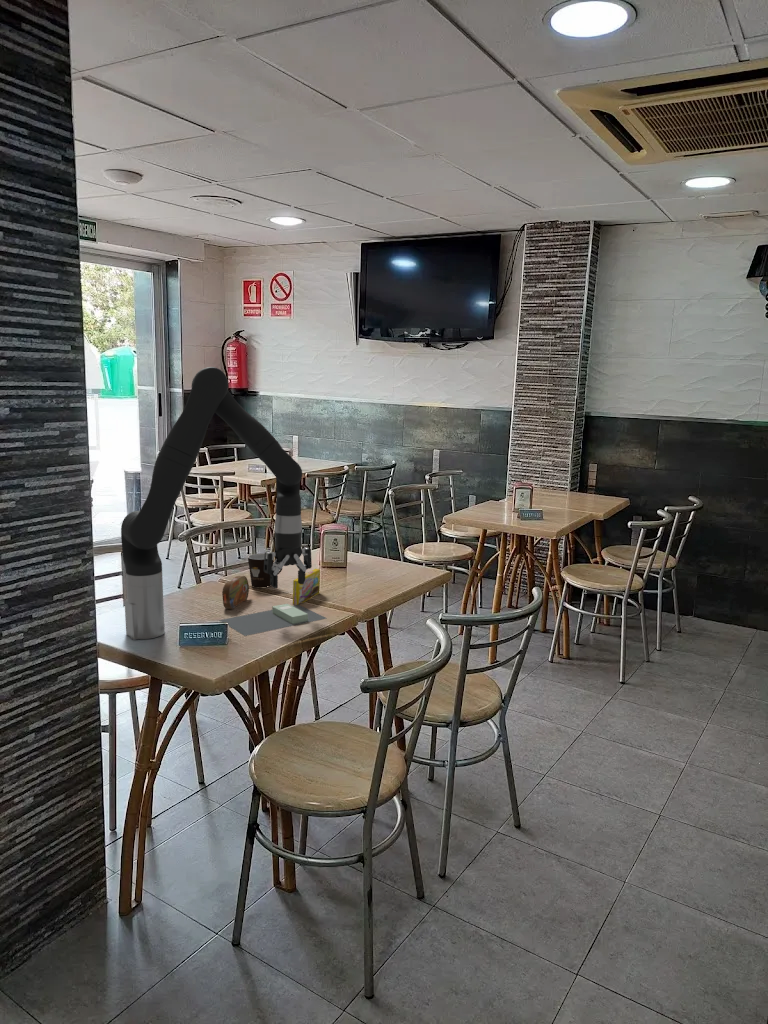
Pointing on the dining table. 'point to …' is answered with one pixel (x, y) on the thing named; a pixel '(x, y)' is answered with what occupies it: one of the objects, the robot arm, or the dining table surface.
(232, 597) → the tin
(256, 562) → the coffee mug
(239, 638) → the dining table surface
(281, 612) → the pale green box
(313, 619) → the mat
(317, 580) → the candy box
